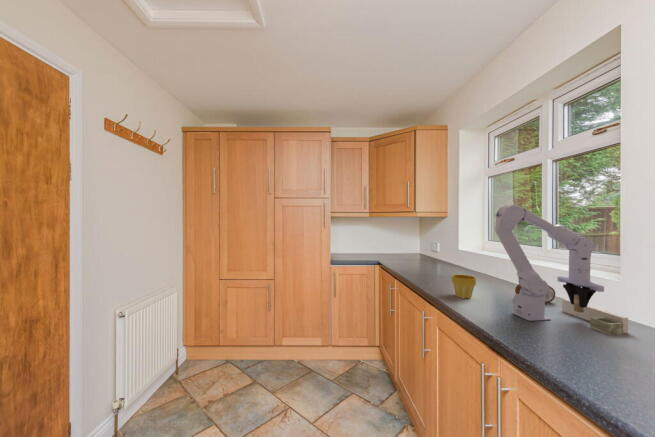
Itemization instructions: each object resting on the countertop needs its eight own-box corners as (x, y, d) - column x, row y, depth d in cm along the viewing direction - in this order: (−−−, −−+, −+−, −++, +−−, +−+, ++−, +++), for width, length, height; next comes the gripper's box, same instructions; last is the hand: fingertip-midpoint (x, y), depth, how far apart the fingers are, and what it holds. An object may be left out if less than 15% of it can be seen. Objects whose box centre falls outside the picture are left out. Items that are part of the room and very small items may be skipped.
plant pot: (474, 295, 127) (474, 275, 127) (477, 301, 118) (477, 279, 118) (451, 292, 132) (451, 273, 131) (452, 298, 122) (452, 277, 122)
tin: (552, 301, 118) (552, 283, 117) (556, 304, 114) (556, 285, 114) (514, 299, 121) (514, 281, 121) (517, 301, 118) (518, 283, 118)
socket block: (608, 335, 85) (608, 324, 85) (590, 328, 90) (590, 317, 90) (623, 334, 85) (623, 323, 85) (604, 327, 91) (604, 317, 91)
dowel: (579, 312, 94) (579, 296, 94) (571, 310, 97) (572, 294, 97) (585, 312, 95) (585, 296, 95) (577, 309, 97) (578, 293, 97)
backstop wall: (622, 333, 86) (622, 318, 86) (562, 311, 106) (562, 298, 106) (627, 332, 86) (628, 317, 86) (566, 310, 106) (566, 298, 106)
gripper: (612, 273, 89) (611, 312, 89) (568, 265, 103) (568, 299, 104) (594, 273, 88) (593, 313, 88) (552, 265, 103) (552, 299, 103)
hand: (578, 305), depth 96 cm, fingers closed on dowel, 3 cm apart
